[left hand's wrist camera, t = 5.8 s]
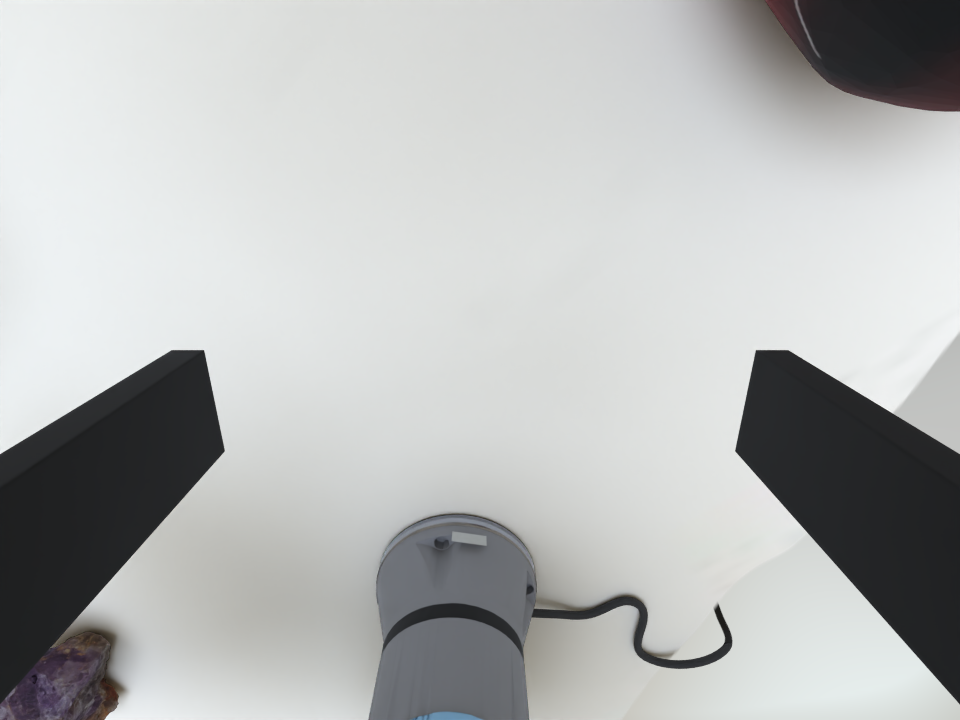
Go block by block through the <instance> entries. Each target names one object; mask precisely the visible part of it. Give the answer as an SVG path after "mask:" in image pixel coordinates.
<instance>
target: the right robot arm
mask: <svg viewBox="0 0 960 720" xmlns="http://www.w3.org/2000/svg"><path fill="white" fill-rule="evenodd" d="M536 592H537V584H536V576H535V569H534V564H533V561H532V558H531V556H530V554H529V552H528V550H527V549H526V547H525V546H524V544H523V543H522V542H521V541H520V540H519V539H518V538H517V537H516V536H515V535H514V534H513V533H511V532H510V531H509V530H507V529H505V528H504V527H502V526H500V525H498V524H496V523H494V522H492V521H489V520H486V519H483V518H479V517H475V516H468V515H444V516H437V517H433V518H429V519H426V520H423V521H420V522H418V523H416V524H414V525H412V526H410V527H408V528H407V529H405V530H404V531H403V532H401V533H400V534H399V535H398V536H397V537H396V538H395V539H394V540H393V541H392V542H391V543H390V544H389V546H388V547H387V549H386V551H385V553H384V555H383V557H382V560H381V563H380V567H379V571H378V575H377V582H376V595H377V603H378V606H379V614H380V621H381V628H382V634H383V640H384V644H383V650H382V655H381V659H380V664H379V669H378V674H377V679H376V684H375V689H374V694H373V699H372V704H371V709H370V714H369V719H368V720H529V712H528V701H527V690H526V679H525V668H524V657H523V646H524V642H525V638H526V635H527V631H528V628H529V624H530V620H531V617H536V618H560V619H573V620H580V619H589V618H593V617H596V616H599V615H601V614H604V613H606V612H608V611H610V610H612V609H614V608H617V607H619V606H623V605H631V606H634V607H636V608H637V609H638V610H639V611H640V619H639V624H638V627H637V630H636V634H635V638H634V648H635V651H636V653H637V655H638V656H639V657H640V658H642V659H643V660H644V661H647V662H649V663H651V664H654V665H657V666H661V667H666V668H675V669H687V668H695V667H700V666H704V665H708V664H710V663H713V662H715V661H717V660H719V659H721V658H722V657H723V656H725V655H726V654H727V653H728V652H729V651H730V649H731V647H732V641H733V640H732V635H731V632H730V629H729V627H728V625H727V623H726V621H725V619H724V617H723V614H722V612H721V609H720V606H719V604H717V605H716V606H715V607H714V612H715V614H716V617H717V620H718V622H719V624H720V626H721V628H722V631H723V633H724V636H725V642H724V644H723V646H722V647H721V648H720V649H718V650H717V651H715V652H713V653H712V654H709V655H707V656H704V657H701V658H696V659H691V660H667V659H661V658H657V657H654V656H652V655H649V654H647V653H646V652H644V651H643V649H642V647H641V643H642V638H643V635H644V631H645V628H646V624H647V618H648V614H647V609H646V607H645V606H644V604H643V603H642V602H640V601H639V600H637V599H635V598H632V597H621V598H617V599H614V600H612V601H609V602H607V603H605V604H603V605H601V606H599V607H596V608H594V609H591V610H586V611H565V610H547V609H534V606H535V601H536Z"/></svg>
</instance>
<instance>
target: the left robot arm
mask: <svg viewBox="0 0 960 720" xmlns="http://www.w3.org/2000/svg"><path fill="white" fill-rule="evenodd" d="M224 451H225V450H224V445H223V440H222V435H221V430H220V425H219V421H218V416H217V411H216V406H215V401H214V396H213V391H212V387H211V382H210V377H209V372H208V367H207V362H206V357H205V353H204V350H171V351H170V352H168V353H167V354H165V355H163V356H162V357H160V358H158V359H157V360H155V361H153V362H152V363H150V364H148V365H147V366H145V367H143V368H142V369H140V370H138V371H137V372H135V373H134V374H132V375H130V376H129V377H127V378H125V379H124V380H122V381H120V382H119V383H117V384H115V385H114V386H112V387H110V388H109V389H107V390H105V391H104V392H102V393H101V394H99V395H97V396H96V397H94V398H92V399H91V400H89V401H87V402H86V403H84V404H82V405H81V406H79V407H77V408H76V409H74V410H72V411H71V412H69V413H68V414H66V415H64V416H63V417H61V418H59V419H58V420H56V421H54V422H53V423H51V424H49V425H48V426H46V427H44V428H43V429H41V430H39V431H38V432H36V433H35V434H33V435H31V436H30V437H28V438H26V439H25V440H23V441H21V442H20V443H18V444H16V445H15V446H13V447H11V448H10V449H8V450H6V451H5V452H3V453H2V454H0V704H1V703H2V702H3V700H4V699H5V698H6V697H7V696H8V695H9V694H10V693H11V691H12V690H13V689H14V688H15V687H16V686H17V685H18V684H19V682H20V681H21V680H22V679H23V678H24V677H25V676H26V675H27V673H28V672H29V671H30V670H31V669H32V668H33V667H34V666H35V664H36V663H37V662H38V661H39V660H40V659H41V658H42V657H43V655H44V654H45V653H46V652H47V651H48V650H49V649H50V648H51V646H52V645H53V644H54V643H55V642H56V641H57V640H58V638H59V637H60V636H61V635H62V634H63V633H64V632H65V631H66V629H67V628H68V627H69V626H70V625H71V624H72V623H73V622H74V620H75V619H76V618H77V617H78V616H79V615H80V614H81V613H82V611H83V610H84V609H85V608H86V607H87V606H88V605H89V604H90V602H91V601H92V600H93V599H94V598H95V597H96V596H97V595H98V593H99V592H100V591H101V590H102V589H103V588H104V587H105V586H106V584H107V583H108V582H109V581H110V580H111V579H112V578H113V577H114V575H115V574H116V573H117V572H118V571H119V570H120V569H121V567H122V566H123V565H124V564H125V563H126V562H127V561H128V560H129V558H130V557H131V556H132V555H133V554H134V553H135V552H136V551H137V549H138V548H139V547H140V546H141V545H142V544H143V543H144V542H145V540H146V539H147V538H148V537H149V536H150V535H151V534H152V533H153V531H154V530H155V529H156V528H157V527H158V526H159V525H160V524H161V522H162V521H163V520H164V519H165V518H166V517H167V516H168V515H169V513H170V512H171V511H172V510H173V509H174V508H175V507H176V506H177V504H178V503H179V502H180V501H181V500H182V499H183V498H184V497H185V495H186V494H187V493H188V492H189V491H190V490H191V489H192V487H193V486H194V485H195V484H196V483H197V482H198V481H199V480H200V478H201V477H202V476H203V475H204V474H205V473H206V472H207V471H208V469H209V468H210V467H211V466H212V465H213V464H214V463H215V462H216V460H217V459H218V458H219V457H220V456H221V455H222V454H223V453H224ZM735 451H736V453H737V454H738V455H739V456H740V457H741V458H742V459H743V460H744V462H745V463H746V464H747V465H748V466H749V467H750V468H751V469H752V471H753V472H754V473H755V474H756V475H757V476H758V477H759V478H760V480H761V481H762V482H763V483H764V484H765V485H766V486H767V487H768V489H769V490H770V491H771V492H772V493H773V494H774V495H775V497H776V498H777V499H778V500H779V501H780V502H781V503H782V504H783V506H784V507H785V508H786V509H787V510H788V511H789V512H790V513H791V515H792V516H793V517H794V518H795V519H796V520H797V521H798V522H799V524H800V525H801V526H802V527H803V528H804V529H805V530H806V531H807V533H808V534H809V535H810V536H811V537H812V538H813V539H814V540H815V542H816V543H817V544H818V545H819V546H820V547H821V548H822V549H823V551H824V552H825V553H826V554H827V555H828V556H829V557H830V558H831V560H832V561H833V562H834V563H835V564H836V565H837V566H838V568H839V569H840V570H841V571H842V572H843V573H844V574H845V575H846V576H847V578H848V579H849V580H850V581H851V582H852V583H853V584H854V586H855V587H856V588H857V589H858V590H859V591H860V592H861V593H862V595H863V596H864V597H865V598H866V599H867V600H868V601H869V602H870V604H871V605H872V606H873V607H874V608H875V609H876V610H877V611H878V613H879V614H880V615H881V616H882V617H883V618H884V619H885V620H886V622H887V623H888V624H889V625H890V626H891V627H892V628H893V629H894V631H895V632H896V633H897V634H898V635H899V636H900V637H901V638H902V640H903V641H904V642H905V643H906V644H907V645H908V646H909V647H910V649H911V650H912V651H913V652H914V653H915V654H916V655H917V657H918V658H919V659H920V660H921V661H922V662H923V663H924V664H925V666H926V667H927V668H928V669H929V670H930V671H931V672H932V673H933V675H934V676H935V677H936V678H937V679H938V680H939V681H940V682H941V684H942V685H943V686H944V687H945V688H946V689H947V690H948V691H949V693H950V694H951V695H952V696H953V697H954V698H955V699H956V700H957V702H958V703H959V704H960V454H958V453H957V452H955V451H954V450H952V449H950V448H949V447H947V446H945V445H944V444H942V443H940V442H939V441H937V440H935V439H934V438H932V437H930V436H929V435H927V434H925V433H924V432H922V431H920V430H919V429H917V428H916V427H914V426H912V425H911V424H909V423H907V422H906V421H904V420H902V419H901V418H899V417H897V416H896V415H894V414H892V413H891V412H889V411H888V410H886V409H884V408H883V407H881V406H879V405H878V404H876V403H874V402H873V401H871V400H869V399H868V398H866V397H864V396H863V395H861V394H859V393H858V392H856V391H855V390H853V389H851V388H850V387H848V386H846V385H845V384H843V383H841V382H840V381H838V380H836V379H835V378H833V377H831V376H830V375H828V374H826V373H825V372H823V371H822V370H820V369H818V368H817V367H815V366H813V365H812V364H810V363H808V362H807V361H805V360H803V359H802V358H800V357H798V356H797V355H795V354H793V353H792V352H790V351H789V350H756V353H755V357H754V362H753V367H752V372H751V377H750V382H749V387H748V391H747V396H746V401H745V406H744V411H743V416H742V421H741V425H740V430H739V435H738V440H737V445H736V450H735Z"/></svg>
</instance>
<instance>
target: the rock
mask: <svg viewBox="0 0 960 720" xmlns="http://www.w3.org/2000/svg"><path fill="white" fill-rule="evenodd" d="M110 648H111V646H110V643H109V642H108V640H106V639H105V638H103V636H102V635H98V634H95V633H92V632H84V633H82V634H80V635H77V636H75V637H72V638H69V639H67V640H66V642H65V643H63V644H61V645H59V646H57V647H55V648H51V649H49V650H48V651H47V652H46V653H45V654H44V655H43V657H42V658H41V659H40V660H39V661H38V662H37V663H36V664H35V666H34V667H33V668H32V669H31V670H30V671H29V672H28V673H27V675H26V676H25V677H24V678H23V679H22V680H21V681H20V682H19V684H18V685H17V686H16V687H15V688H14V689H13V690H12V691H11V693H10V694H9V695H8V696H7V697H6V698H5V699H4V700H3V702H2V703H1V704H0V720H105V718H106V716H107V715H108V714H109V713H110V712H112V711H114V710H115V709H116V708H117V705H118V704H119V703H118V697H119V696H118V694H117V692H116V691H115V688H114V687H113V686H111V685H109V684H107V683H105V682H106V679H105V678H103V677H104V675H105V670H106V669H107V664H105V663H106V661H107V660H108V659H109V651H110Z"/></svg>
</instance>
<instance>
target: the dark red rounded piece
mask: <svg viewBox="0 0 960 720" xmlns="http://www.w3.org/2000/svg"><path fill="white" fill-rule="evenodd" d="M765 1H766V3H767V4H768V6H769V7H770V9H771V10H772V11H773V13H774V14H775V16H776V17H777V19H778V20H779V22H780V23H781V25H782V26H783V28H784V29H785V31H786V32H787V33H788V35H789V36H790V37H791V39H792V40H793V41H794V43H795V44H796V45H797V47H798V48H799V49H800V51H801V52H802V53H803V55H804V56H805V58H806V59H807V60H808V62H809V63H810V64H811V66H812V67H813V68H814V69H815V70H816V71H817V72H818V73H819V74H820V75H821V76H822V77H823V78H824V79H825V80H826V81H827V82H828V83H829V84H831V85H833V86H835V87H837V88H839V89H840V90H842V91H844V92H847V93H850V94H853V95H856V96H859V97H863V98H868V99H872V100H876V101H880V102H884V103H889V104H893V105H897V106H902V107H909V108H915V109H922V110H929V111H960V0H765Z"/></svg>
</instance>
